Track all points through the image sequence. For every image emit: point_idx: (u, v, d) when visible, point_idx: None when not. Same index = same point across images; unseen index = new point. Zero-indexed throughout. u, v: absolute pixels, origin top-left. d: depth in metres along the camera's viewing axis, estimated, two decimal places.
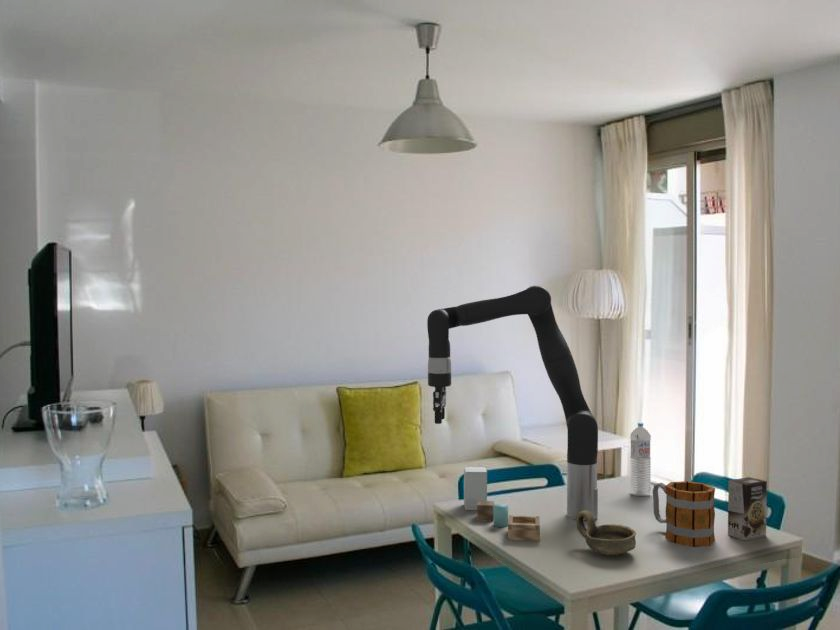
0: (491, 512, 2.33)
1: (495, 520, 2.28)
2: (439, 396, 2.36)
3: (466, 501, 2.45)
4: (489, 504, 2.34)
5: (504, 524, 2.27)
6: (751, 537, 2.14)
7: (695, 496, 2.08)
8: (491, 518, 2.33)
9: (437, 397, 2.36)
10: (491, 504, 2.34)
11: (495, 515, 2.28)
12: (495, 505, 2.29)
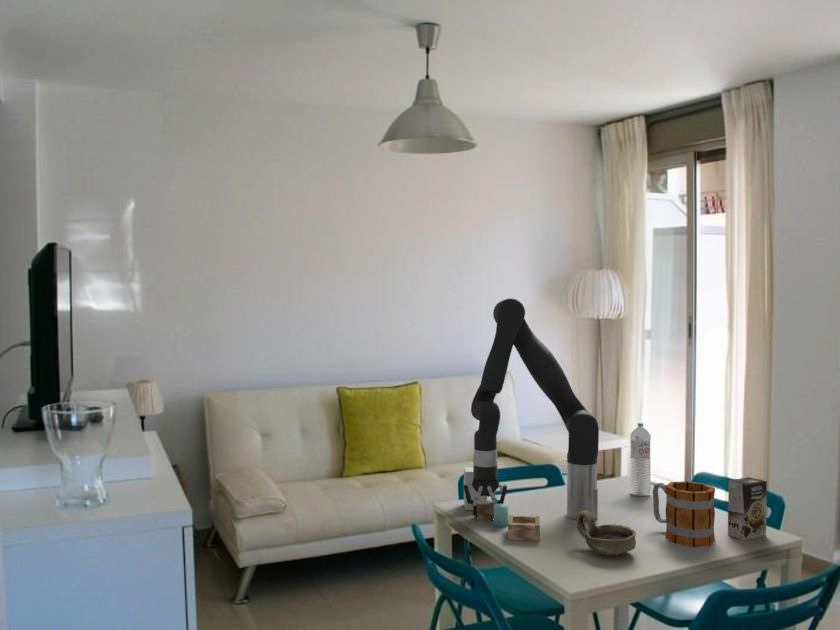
0: (491, 512, 2.33)
1: (495, 520, 2.28)
2: None
3: (466, 501, 2.45)
4: (489, 504, 2.34)
5: (504, 524, 2.27)
6: (751, 537, 2.14)
7: (695, 496, 2.08)
8: (491, 518, 2.33)
9: None
10: (491, 504, 2.34)
11: (495, 515, 2.28)
12: (495, 505, 2.29)
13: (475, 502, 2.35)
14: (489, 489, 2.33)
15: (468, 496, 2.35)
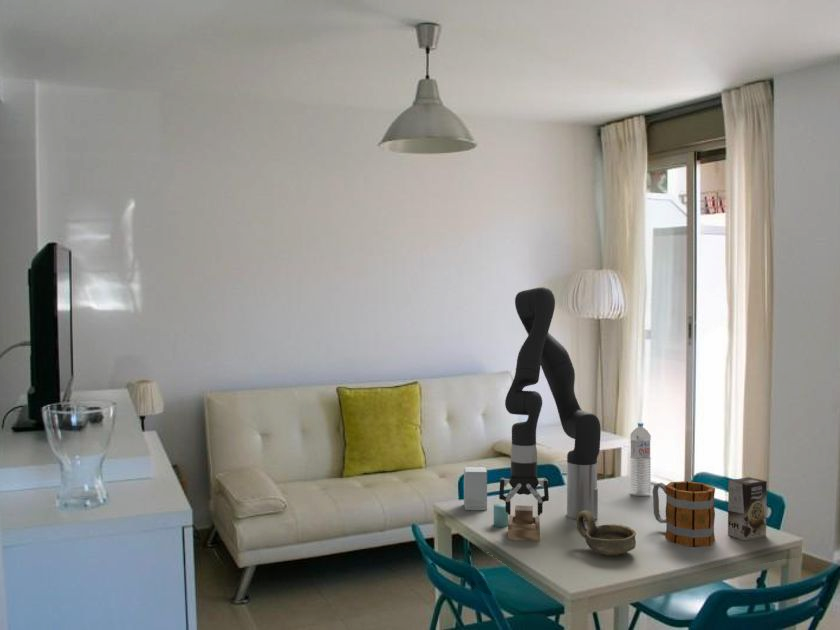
0: (530, 518, 2.16)
1: (495, 520, 2.28)
2: None
3: (466, 501, 2.45)
4: (528, 509, 2.18)
5: (504, 524, 2.27)
6: (751, 537, 2.14)
7: (695, 496, 2.08)
8: None
9: None
10: (530, 509, 2.17)
11: (495, 515, 2.28)
12: (495, 505, 2.29)
13: (508, 498, 2.18)
14: (529, 487, 2.17)
15: (502, 492, 2.19)
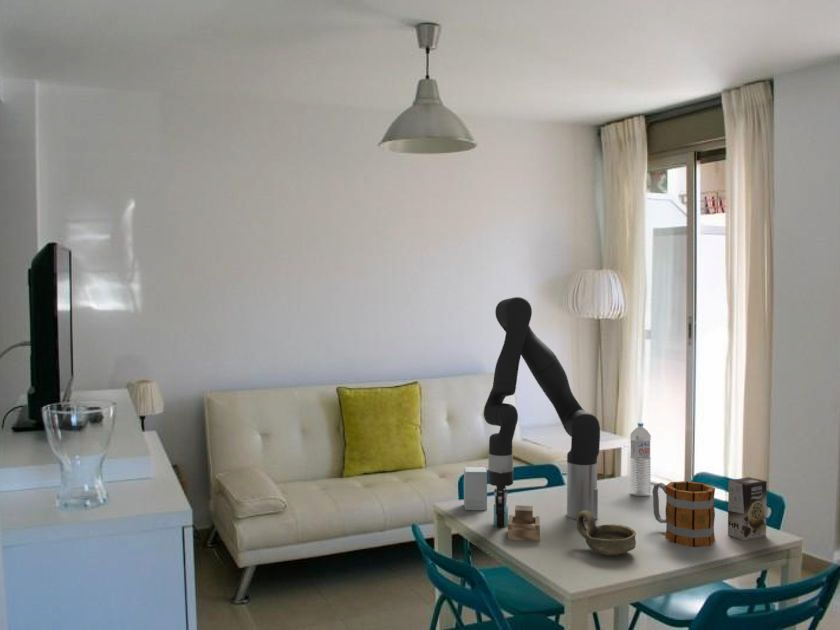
0: (530, 518, 2.16)
1: (495, 520, 2.28)
2: None
3: (466, 501, 2.45)
4: (528, 509, 2.18)
5: (504, 524, 2.27)
6: (751, 537, 2.14)
7: (695, 496, 2.08)
8: None
9: None
10: (530, 509, 2.17)
11: (495, 515, 2.28)
12: None
13: (504, 511, 2.26)
14: None
15: (504, 507, 2.24)
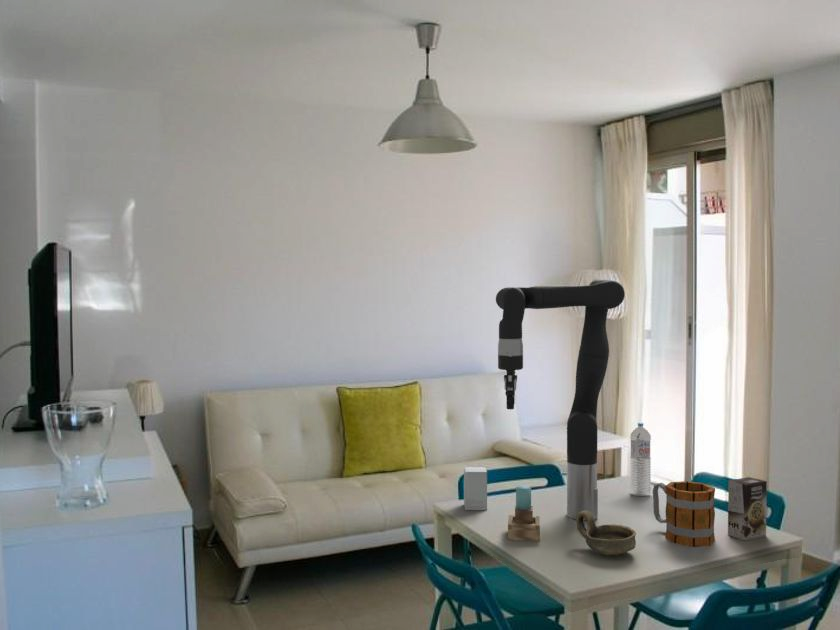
0: (530, 518, 2.16)
1: (517, 503, 2.18)
2: None
3: (466, 501, 2.45)
4: None
5: (527, 507, 2.17)
6: (751, 537, 2.14)
7: (695, 496, 2.08)
8: None
9: None
10: (530, 509, 2.17)
11: (518, 498, 2.18)
12: (517, 487, 2.19)
13: None
14: None
15: (514, 387, 2.21)
